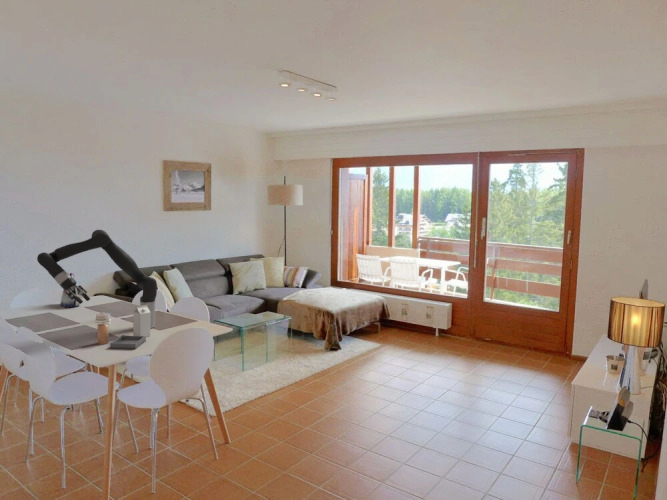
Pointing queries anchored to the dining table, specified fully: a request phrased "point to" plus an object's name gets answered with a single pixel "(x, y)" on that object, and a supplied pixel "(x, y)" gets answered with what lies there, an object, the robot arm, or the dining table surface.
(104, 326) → the tan cylinder
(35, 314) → the dining table surface
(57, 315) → the dining table surface
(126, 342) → the tray
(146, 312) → the milk carton
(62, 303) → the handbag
